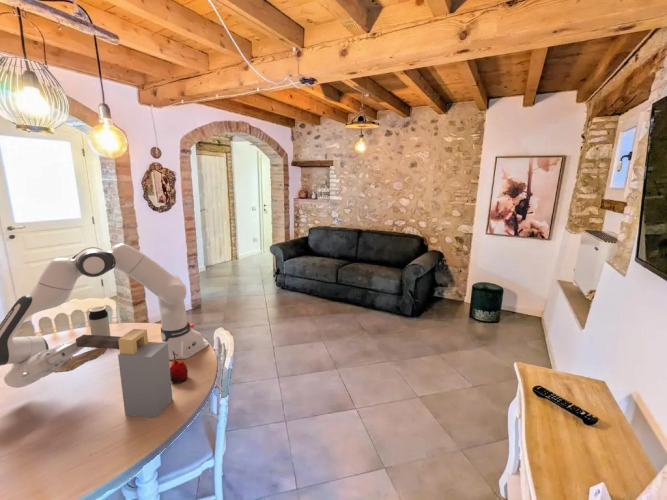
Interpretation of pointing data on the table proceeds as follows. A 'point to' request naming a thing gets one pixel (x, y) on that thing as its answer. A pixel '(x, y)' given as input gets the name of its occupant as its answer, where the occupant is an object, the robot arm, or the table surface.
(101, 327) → the travel mug
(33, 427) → the table surface
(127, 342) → the post
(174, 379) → the red clay folk toy
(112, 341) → the block
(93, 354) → the wooden fragment
